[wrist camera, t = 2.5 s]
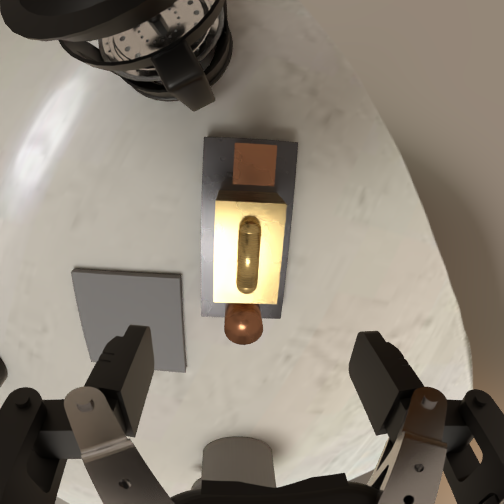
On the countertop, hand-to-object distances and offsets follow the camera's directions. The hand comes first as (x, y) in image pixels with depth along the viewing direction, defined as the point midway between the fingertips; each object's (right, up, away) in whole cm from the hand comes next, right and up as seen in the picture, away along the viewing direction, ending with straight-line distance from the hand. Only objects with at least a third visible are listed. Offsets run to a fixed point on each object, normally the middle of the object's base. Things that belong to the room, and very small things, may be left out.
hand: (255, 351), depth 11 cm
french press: (-6, +20, +10) cm, 23 cm away
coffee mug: (-4, -26, +27) cm, 37 cm away
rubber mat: (-12, -3, +18) cm, 22 cm away
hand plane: (-1, +6, +15) cm, 16 cm away
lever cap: (-1, +5, +13) cm, 14 cm away
